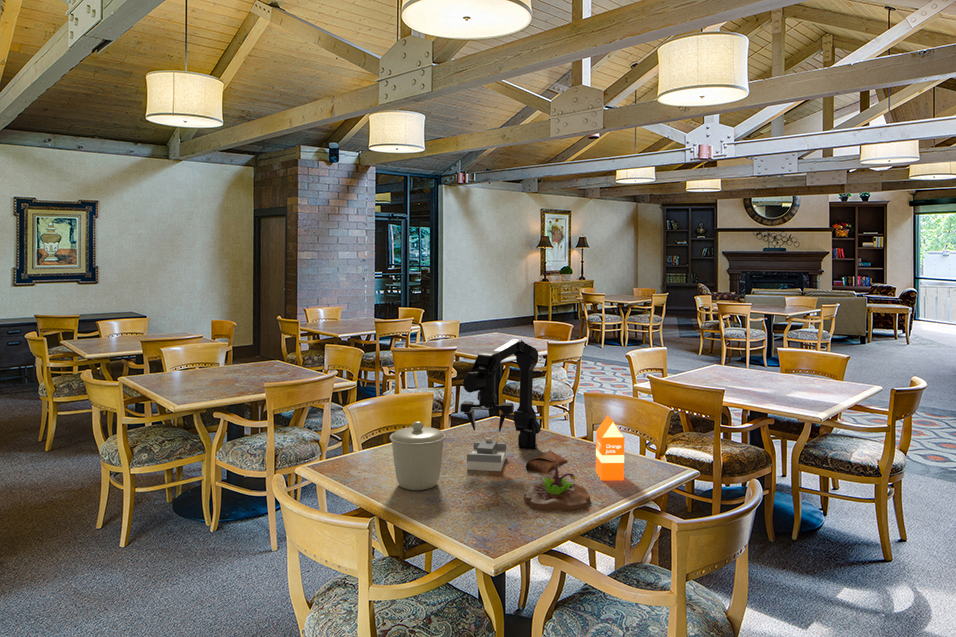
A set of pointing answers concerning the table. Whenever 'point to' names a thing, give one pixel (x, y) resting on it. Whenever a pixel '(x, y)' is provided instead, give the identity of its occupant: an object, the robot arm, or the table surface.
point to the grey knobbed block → (487, 447)
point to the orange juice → (609, 451)
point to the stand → (487, 459)
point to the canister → (417, 456)
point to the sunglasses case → (544, 462)
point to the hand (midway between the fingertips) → (487, 430)
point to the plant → (557, 494)
